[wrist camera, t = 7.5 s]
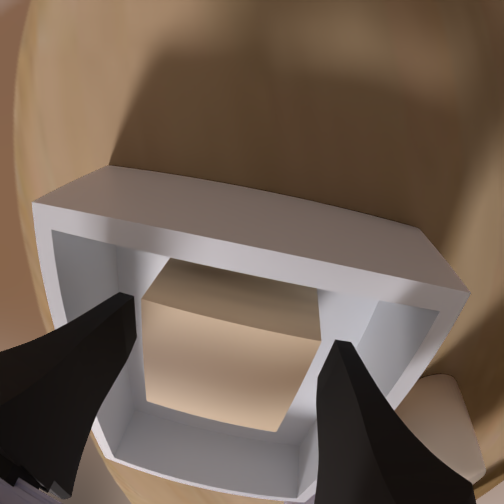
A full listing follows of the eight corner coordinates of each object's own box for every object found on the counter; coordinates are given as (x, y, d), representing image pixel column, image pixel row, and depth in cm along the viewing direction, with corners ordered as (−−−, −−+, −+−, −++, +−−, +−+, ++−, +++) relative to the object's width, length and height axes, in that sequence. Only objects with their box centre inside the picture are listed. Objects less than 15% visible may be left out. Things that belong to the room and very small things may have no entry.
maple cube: (282, 345, 15) (276, 432, 10) (182, 321, 15) (146, 400, 11) (313, 256, 13) (321, 341, 8) (191, 228, 13) (141, 299, 8)
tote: (107, 165, 12) (31, 201, 8) (418, 228, 12) (471, 292, 8) (129, 405, 21) (105, 457, 16) (306, 444, 20) (304, 502, 16)
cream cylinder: (470, 375, 16) (502, 461, 9) (433, 419, 18) (451, 498, 12) (410, 371, 16) (436, 475, 10) (376, 418, 18) (386, 508, 12)
